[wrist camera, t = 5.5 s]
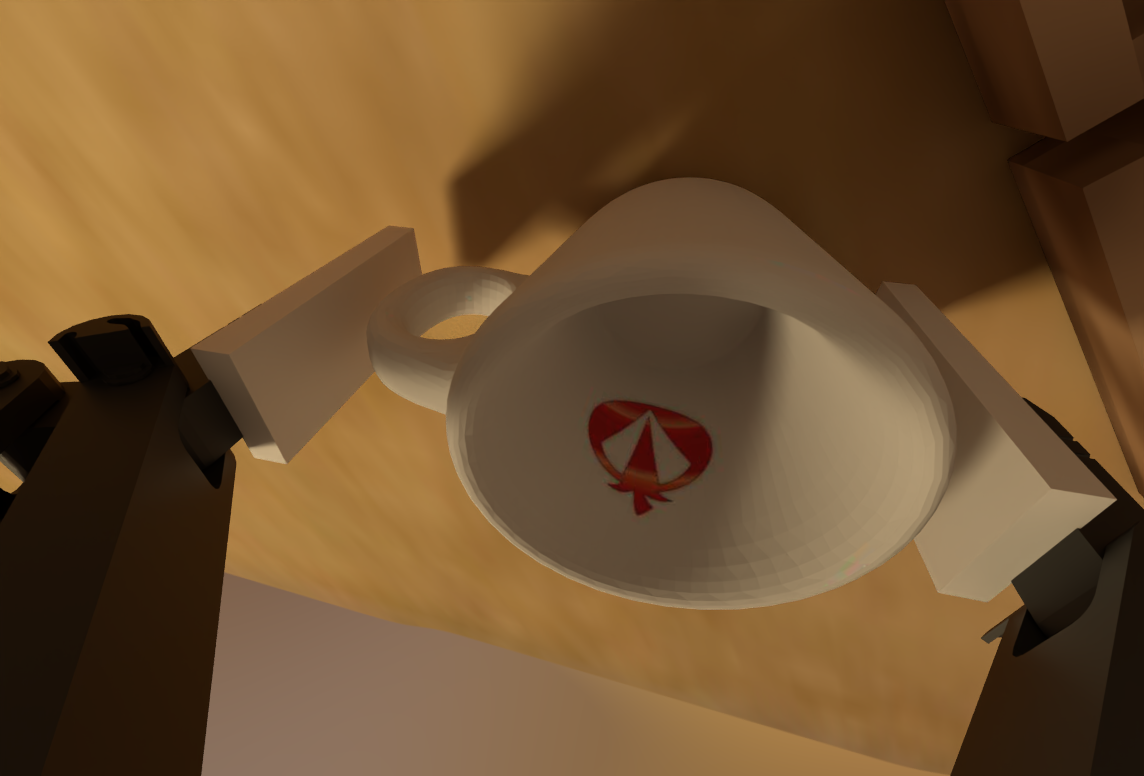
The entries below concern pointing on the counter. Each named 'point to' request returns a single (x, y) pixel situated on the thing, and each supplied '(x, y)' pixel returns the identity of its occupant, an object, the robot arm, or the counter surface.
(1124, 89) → the tray
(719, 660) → the counter surface
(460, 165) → the counter surface
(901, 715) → the counter surface
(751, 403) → the cup
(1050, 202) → the tray
